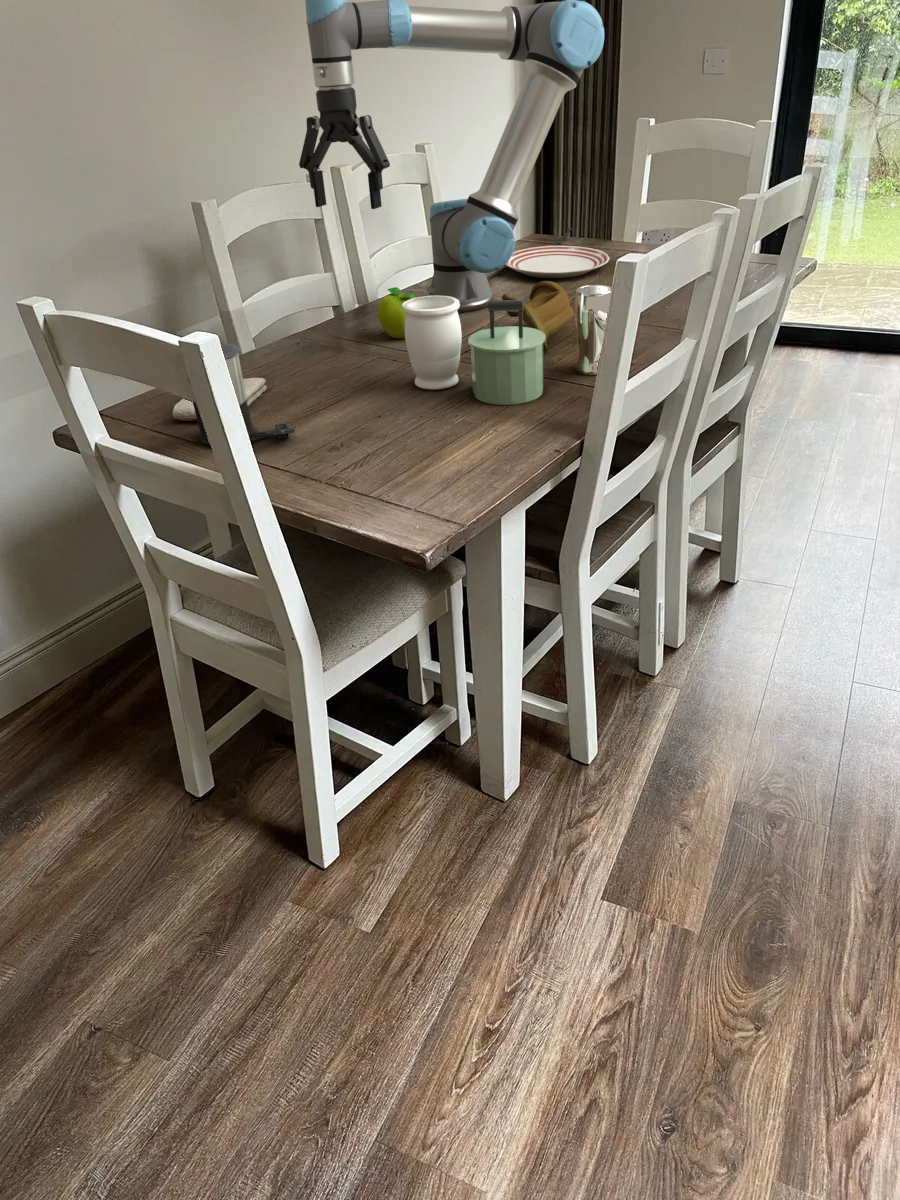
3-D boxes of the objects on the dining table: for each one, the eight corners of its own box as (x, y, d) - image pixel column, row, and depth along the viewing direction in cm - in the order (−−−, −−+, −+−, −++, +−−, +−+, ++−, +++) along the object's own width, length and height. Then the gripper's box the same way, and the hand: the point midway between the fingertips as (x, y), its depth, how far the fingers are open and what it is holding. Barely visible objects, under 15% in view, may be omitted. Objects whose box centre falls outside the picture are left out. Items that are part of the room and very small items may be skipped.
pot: (478, 380, 174) (476, 330, 169) (545, 380, 172) (545, 329, 167) (469, 404, 164) (466, 352, 159) (540, 404, 162) (539, 351, 157)
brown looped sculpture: (459, 312, 188) (523, 269, 199) (483, 371, 193) (544, 326, 205) (525, 295, 174) (590, 251, 185) (549, 359, 179) (610, 312, 191)
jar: (401, 379, 177) (394, 300, 169) (450, 370, 180) (445, 291, 172) (421, 396, 169) (415, 314, 161) (473, 386, 172) (469, 304, 164)
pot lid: (474, 332, 170) (472, 291, 166) (548, 331, 168) (548, 289, 164) (463, 356, 159) (460, 312, 155) (542, 355, 157) (542, 311, 153)
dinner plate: (629, 264, 242) (630, 251, 240) (565, 288, 226) (565, 274, 224) (547, 253, 259) (547, 241, 257) (482, 275, 243) (481, 262, 241)
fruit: (408, 327, 206) (404, 281, 201) (430, 336, 200) (427, 289, 194) (372, 336, 202) (367, 290, 197) (394, 346, 196) (389, 298, 190)
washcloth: (269, 388, 178) (267, 373, 176) (235, 424, 163) (232, 407, 161) (211, 388, 180) (208, 373, 178) (173, 424, 165) (169, 407, 163)
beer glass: (589, 361, 179) (591, 282, 171) (618, 368, 175) (622, 287, 167) (566, 371, 176) (567, 290, 167) (596, 378, 171) (598, 296, 163)
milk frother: (201, 430, 162) (182, 346, 154) (291, 417, 164) (277, 334, 156) (201, 462, 150) (181, 373, 142) (298, 448, 152) (284, 359, 144)
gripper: (271, 91, 179) (288, 208, 191) (379, 87, 168) (390, 212, 180) (294, 87, 185) (309, 201, 196) (400, 84, 174) (410, 205, 185)
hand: (348, 207), depth 188 cm, fingers open, 13 cm apart
